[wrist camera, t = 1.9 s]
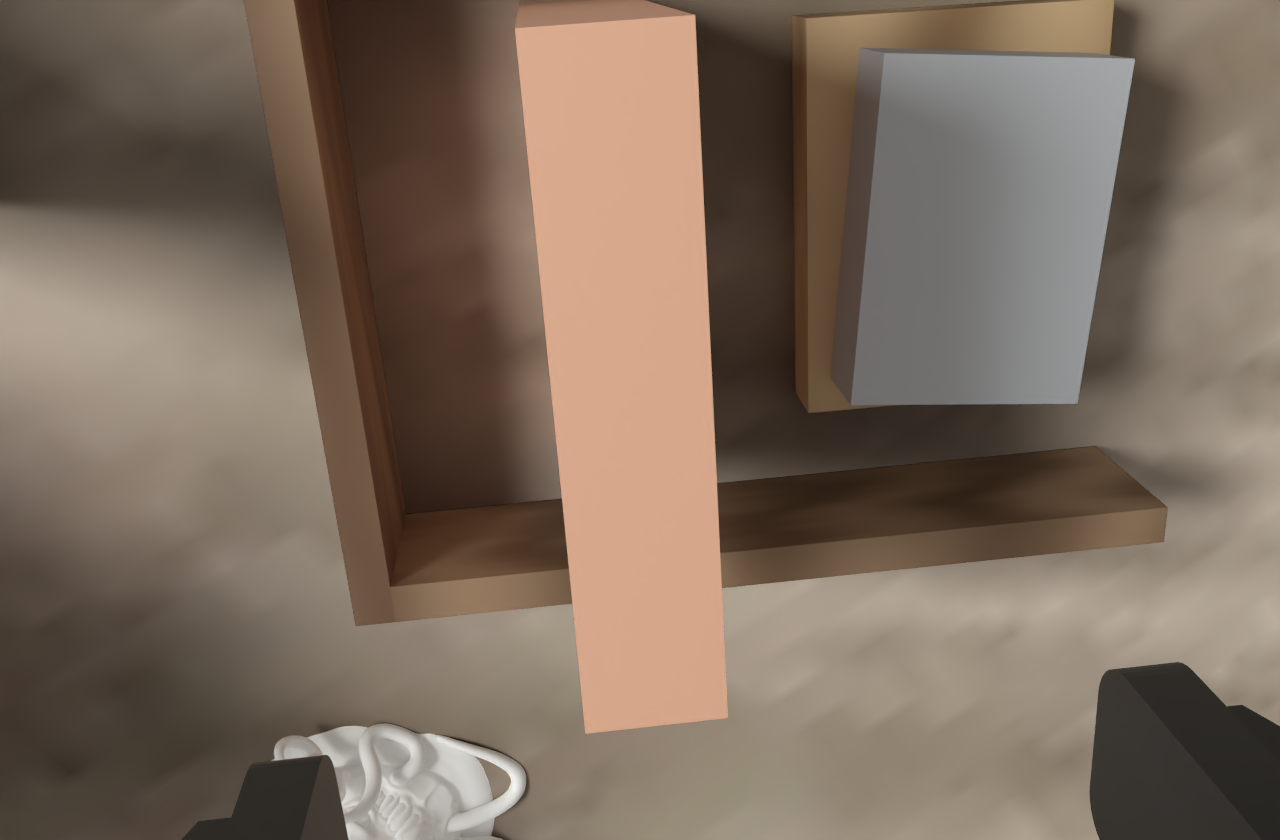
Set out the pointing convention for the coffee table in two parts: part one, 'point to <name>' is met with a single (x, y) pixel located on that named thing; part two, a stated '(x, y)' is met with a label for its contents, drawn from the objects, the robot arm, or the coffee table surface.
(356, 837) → the white tentacle figurine
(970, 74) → the offcut top
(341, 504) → the wooden tray
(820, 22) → the offcut bottom
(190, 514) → the coffee table surface
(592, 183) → the salmon orange rectangular slab
